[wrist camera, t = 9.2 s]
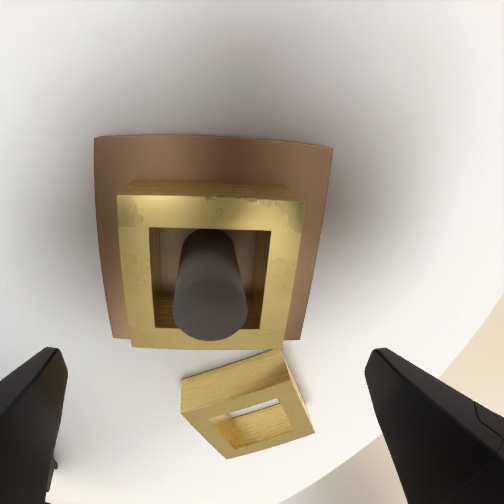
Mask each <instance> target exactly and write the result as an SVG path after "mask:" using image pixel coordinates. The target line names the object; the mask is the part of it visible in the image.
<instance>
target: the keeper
mask: <svg viewBox="0 0 504 504" xmlns="http://www.w3.org/2000/svg"><path fill="white" fill-rule="evenodd" d="M332 151H333V148H329V147H326V146H319V145H311V144H303V143H294V142H285V141H275V140H264V139H251V138H237V137H219V136H194V135H129V136H104V137H97V138H94V181H95V204H96V219H97V231H98V242H99V251H100V260H101V268H102V276H103V283H104V289H105V296H106V302H107V308H108V313H109V319H110V324H111V329H112V334H113V338H122V339H131V337H130V331H129V324H128V318H127V311H126V303H125V296H124V287H123V279H122V269H121V258H120V246H119V232H118V215H117V195H118V194H119V193H120V192H121V191H122V190H123V189H124V188H125V187H127V186H128V185H129V184H130V183H131V182H132V181H133V180H193V181H220V182H241V183H258V184H273V185H286V186H288V187H289V188H290V189H292V190H293V191H294V192H295V193H296V194H297V195H298V196H300V197H301V198H302V199H303V200H304V201H305V202H306V207H305V214H304V221H303V228H302V234H301V241H300V247H299V254H298V260H297V266H296V272H295V278H294V284H293V290H292V296H291V302H290V308H289V313H288V319H287V324H286V330H285V335H284V340H300V336H301V331H302V327H303V322H304V317H305V313H306V308H307V303H308V298H309V293H310V288H311V283H312V277H313V272H314V267H315V261H316V256H317V250H318V244H319V239H320V233H321V227H322V221H323V214H324V208H325V201H326V195H327V188H328V181H329V174H330V167H331V159H332ZM256 235H257V230H233V229H202V228H163V227H160V256H161V281H162V293H175V294H174V301H173V317H174V320H175V322H176V324H177V326H178V327H179V328H180V329H181V330H182V331H183V332H184V333H185V334H187V335H188V336H190V337H192V338H195V339H198V340H202V341H218V340H222V339H225V338H228V337H230V336H232V335H233V334H235V333H236V332H237V331H238V330H239V329H240V328H241V327H242V326H243V324H244V323H245V321H246V318H247V313H248V307H247V302H246V297H245V294H251V285H252V275H253V265H254V255H255V245H256Z"/></svg>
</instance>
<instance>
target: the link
mask: <svg viewBox="0 0 504 504" xmlns="http://www.w3.org/2000/svg"><path fill="white" fill-rule="evenodd" d="M275 398H277V399H278V400H279V402H280V404H277V405H274V406H271V407H268V408H265V409H262V410H258V411H255V412H252V413H249V414H246V415H242V416H239V417H235V418H232V419H231V418H230V417H229V415H228V414H227V413H231V412H234V411H237V410H241V409H244V408H247V407H250V406H254V405H257V404H260V403H263V402H266V401H269V400H272V399H275ZM181 414H182V415H183V416H184V417H185V418H186V419H187V420H188V421H189V423H190V424H191V425H192V426H193V427H194V428H195V429H196V430H197V431H198V432H199V433H200V434H201V435H202V436H203V437H204V438H205V439H206V440H207V441H208V442H209V443H210V444H211V445H212V446H213V447H214V448H215V449H216V450H217V451H218V452H219V453H220V454H221V455H222V456H224V457H225V458H226V459H230V458H234V457H238V456H242V455H246V454H249V453H253V452H257V451H260V450H264V449H267V448H271V447H274V446H277V445H281V444H284V443H287V442H290V441H293V440H296V439H299V438H302V437H305V436H307V435H310V434H313V433H315V431H314V428H313V425H312V422H311V419H310V416H309V413H308V411H307V408H306V405H305V402H304V400H303V398H302V395H301V393H300V391H299V389H298V386H297V384H296V382H295V379H294V377H293V375H292V373H291V370H290V368H289V366H288V363H287V361H286V359H285V357H284V354H283V352H282V350H281V348H280V349H272V350H269V351H267V352H264V353H261V354H258V355H256V356H253V357H250V358H247V359H244V360H241V361H238V362H235V363H232V364H230V365H226V366H223V367H220V368H217V369H214V370H211V371H208V372H205V373H202V374H198V375H195V376H192V377H188V378H185V379H182V393H181Z"/></svg>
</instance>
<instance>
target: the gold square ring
mask: <svg viewBox="0 0 504 504" xmlns="http://www.w3.org/2000/svg"><path fill="white" fill-rule="evenodd" d="M305 207H306V202H305V201H304V200H303V199H302V198H301V197H300V196H298V195H297V194H296V193H295V192H294V191H293V190H292V189H290V188H289V187H288V186H286V185H273V184H258V183H241V182H220V181H193V180H133V181H132V182H131V183H130V184H129V185H128V186H127V187H125V188H124V189H123V190H122V191H121V192H120V193H119V194H118V195H117V215H118V232H119V246H120V258H121V269H122V279H123V287H124V296H125V303H126V311H127V318H128V324H129V331H130V337H131V343H132V347H140V348H159V349H190V350H249V349H280V348H282V346H283V340H284V335H285V330H286V324H287V319H288V313H289V308H290V302H291V296H292V290H293V284H294V278H295V272H296V266H297V260H298V254H299V247H300V241H301V234H302V228H303V221H304V214H305ZM160 227H163V228H202V229H233V230H257V235H256V245H255V255H254V265H253V275H252V285H251V294H245V297H246V302H247V307H248V313H247V318H246V321H245V323H244V324H243V326H242V327H241V328H240V329H239V330H238V331H237V332H236V333H235V334H233V335H232V336H230V337H228V338H225V339H222V340H218V341H202V340H198V339H195V338H192V337H190V336H188V335H187V334H185V333H184V332H183V331H182V330H181V329H180V328H179V327H178V326H177V324H176V322H175V320H174V317H173V301H174V294H175V293H162V281H161V256H160Z"/></svg>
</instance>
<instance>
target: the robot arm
mask: <svg viewBox="0 0 504 504" xmlns="http://www.w3.org/2000/svg"><path fill="white" fill-rule="evenodd" d="M67 378H68V371H67V367H66V364H65V362H64V359H63V356H62V353H61V351H60V350H59V349H58V348H53V347H46V348H44V349H43V350H41V351H40V352H38V353H37V354H36V355H34V356H33V357H32V358H30V359H29V360H28V361H26V362H25V363H24V364H22V365H21V366H19V367H18V368H17V369H15V370H14V371H13V372H11V373H10V374H9V375H8V376H6V377H5V378H4V379H2V380H1V381H0V504H50V503H46V502H45V497H46V492H48V491H49V489H50V485H51V480H52V476H53V472H54V469H57V468H58V465H57V464H56V463H55V461H54V460H53V459H52V458H53V453H54V448H55V444H56V439H57V435H58V431H59V426H60V422H61V416H62V409H63V402H64V396H65V390H66V384H67ZM365 378H366V382H367V385H368V389H369V392H370V396H371V400H372V403H373V407H374V411H375V414H376V417H377V420H378V423H379V425H380V428H381V430H382V433H383V436H384V438H385V441H386V443H387V446H388V449H389V451H390V454H391V457H392V459H393V462H394V465H395V468H396V470H397V473H398V476H399V479H400V482H401V484H402V487H403V490H404V493H405V496H406V499H407V502H408V504H504V417H502V416H500V415H498V414H496V413H494V412H492V411H490V410H489V409H487V408H485V407H483V406H482V405H480V404H478V403H477V402H475V401H473V400H471V399H470V398H468V397H467V396H465V395H463V394H462V393H460V392H458V391H456V390H455V389H453V388H452V387H450V386H448V385H446V384H445V383H443V382H442V381H440V380H438V379H437V378H435V377H433V376H432V375H430V374H429V373H427V372H425V371H424V370H422V369H420V368H419V367H417V366H415V365H414V364H412V363H410V362H409V361H407V360H405V359H404V358H402V357H401V356H399V355H397V354H396V353H394V352H392V351H391V350H389V349H387V348H377V349H374V350H373V351H372V352H371V355H370V357H369V360H368V362H367V365H366V367H365Z"/></svg>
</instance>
